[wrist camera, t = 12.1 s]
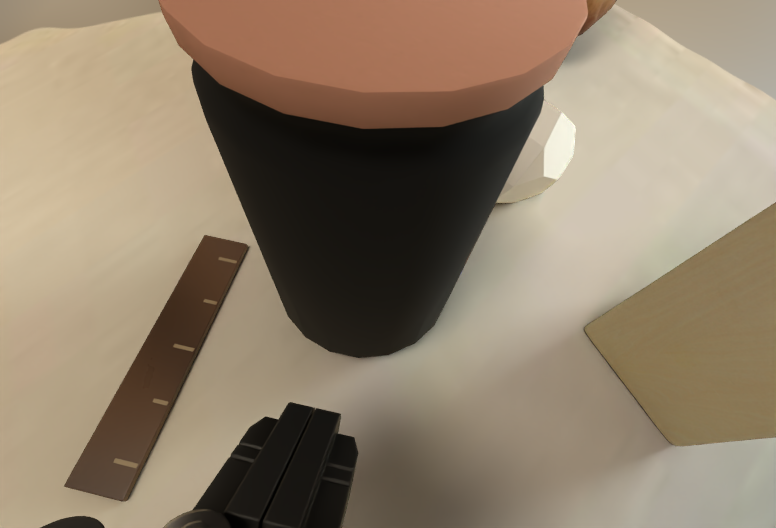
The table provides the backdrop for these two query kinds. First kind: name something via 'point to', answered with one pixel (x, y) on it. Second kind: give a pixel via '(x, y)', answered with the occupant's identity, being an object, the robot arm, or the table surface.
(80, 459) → the walnut ruler
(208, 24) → the coffee jar
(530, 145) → the crystal
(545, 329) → the table surface
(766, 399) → the beige tall block
